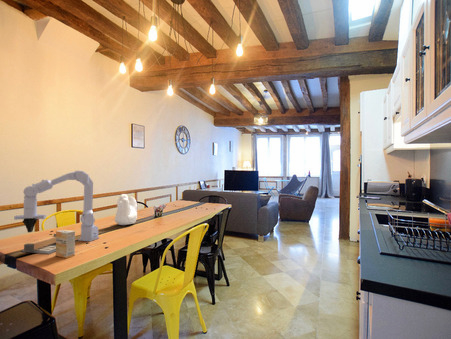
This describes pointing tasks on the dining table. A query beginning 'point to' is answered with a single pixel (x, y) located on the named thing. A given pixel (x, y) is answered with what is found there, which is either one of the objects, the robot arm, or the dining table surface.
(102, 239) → the dining table surface
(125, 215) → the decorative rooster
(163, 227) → the dining table surface
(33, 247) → the tan wooden bar
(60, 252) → the supplement box
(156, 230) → the dining table surface
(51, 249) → the label plate
